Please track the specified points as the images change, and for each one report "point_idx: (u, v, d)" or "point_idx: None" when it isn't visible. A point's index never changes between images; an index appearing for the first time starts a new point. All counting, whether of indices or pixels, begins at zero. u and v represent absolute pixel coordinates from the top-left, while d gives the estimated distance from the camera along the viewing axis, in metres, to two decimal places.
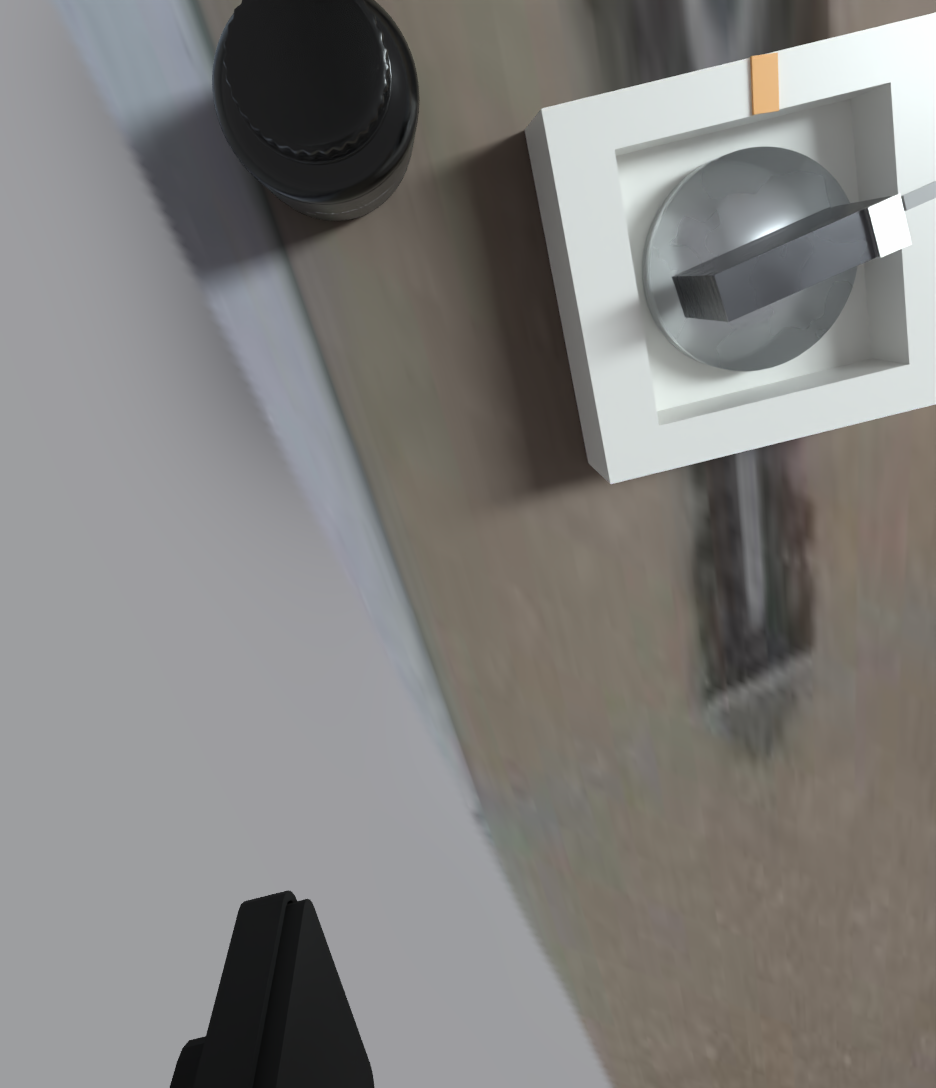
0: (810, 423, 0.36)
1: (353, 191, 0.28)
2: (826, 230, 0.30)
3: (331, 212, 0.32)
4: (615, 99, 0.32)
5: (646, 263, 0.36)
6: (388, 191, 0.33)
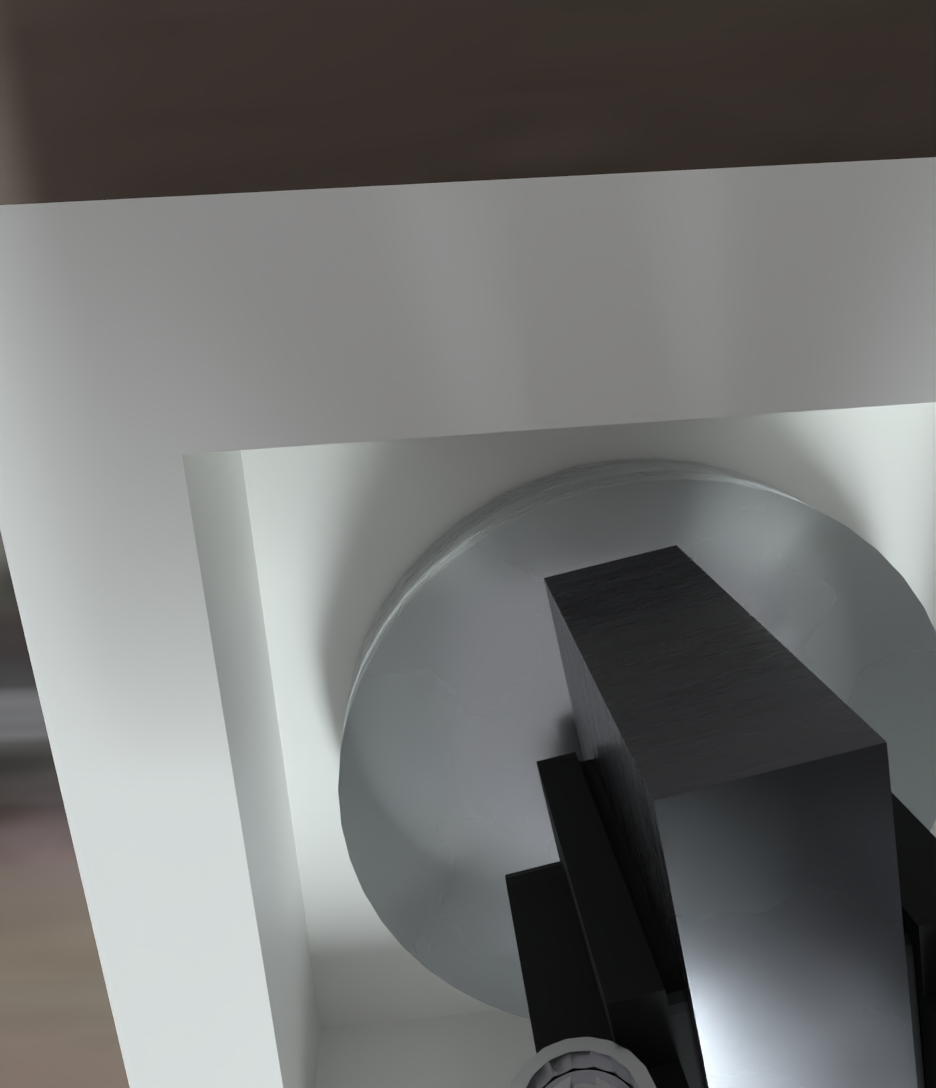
0: (142, 964, 0.11)
1: None
2: None
3: None
4: None
5: (714, 472, 0.11)
6: None
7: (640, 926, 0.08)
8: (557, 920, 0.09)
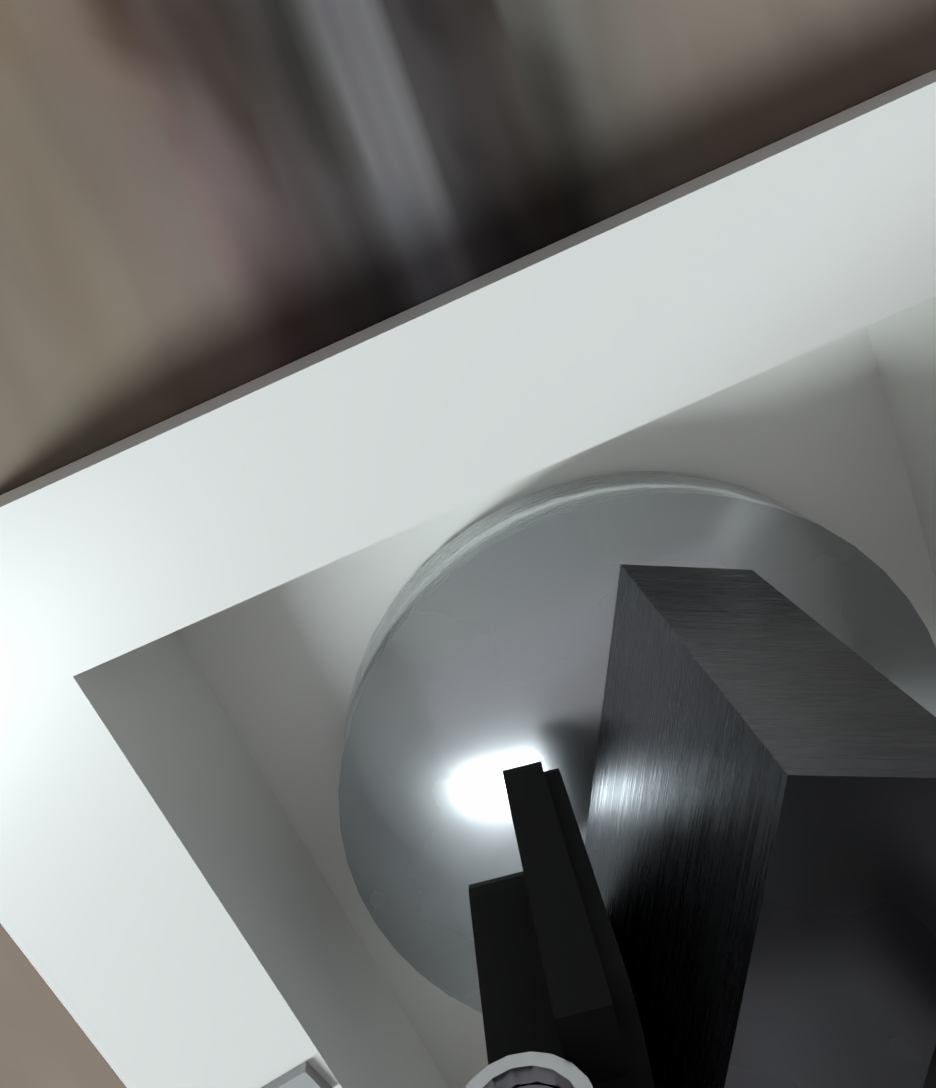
0: (380, 388, 0.09)
1: None
2: None
3: None
4: None
5: (799, 514, 0.12)
6: None
7: (594, 939, 0.08)
8: (517, 931, 0.09)
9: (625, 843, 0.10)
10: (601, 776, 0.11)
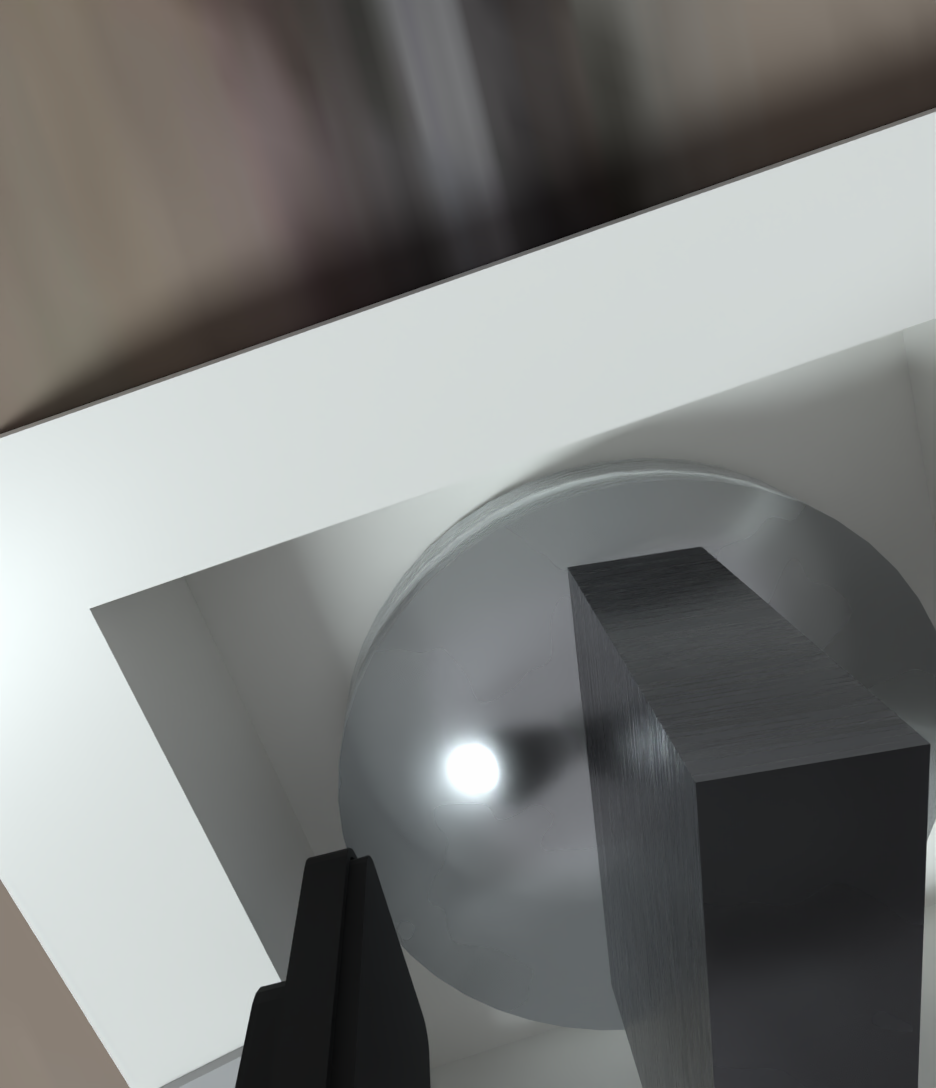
0: (433, 340, 0.09)
1: None
2: None
3: None
4: None
5: (743, 479, 0.12)
6: None
7: (328, 1082, 0.07)
8: None
9: (619, 844, 0.10)
10: (593, 776, 0.12)
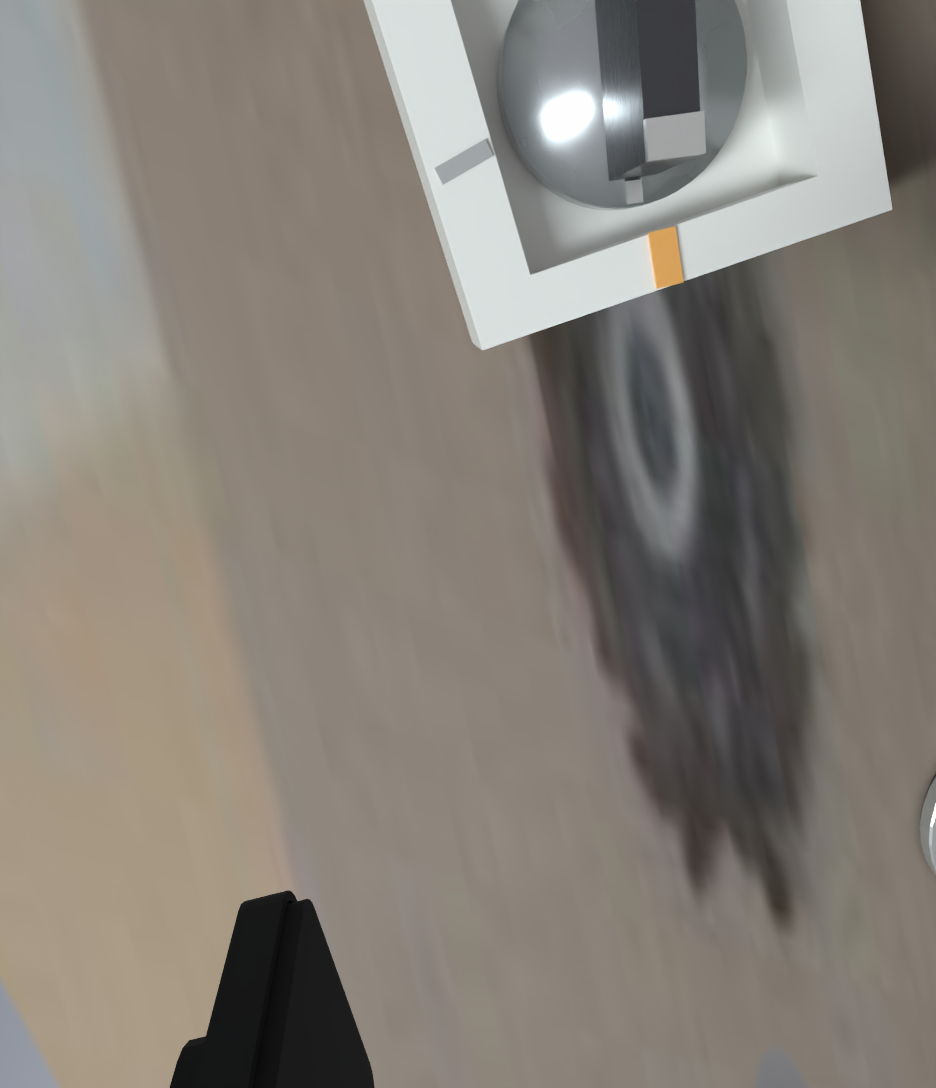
0: None
1: None
2: (692, 59, 0.26)
3: None
4: (817, 226, 0.31)
5: None
6: None
7: None
8: None
9: (611, 48, 0.28)
10: (601, 56, 0.30)
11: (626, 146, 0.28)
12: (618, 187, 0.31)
